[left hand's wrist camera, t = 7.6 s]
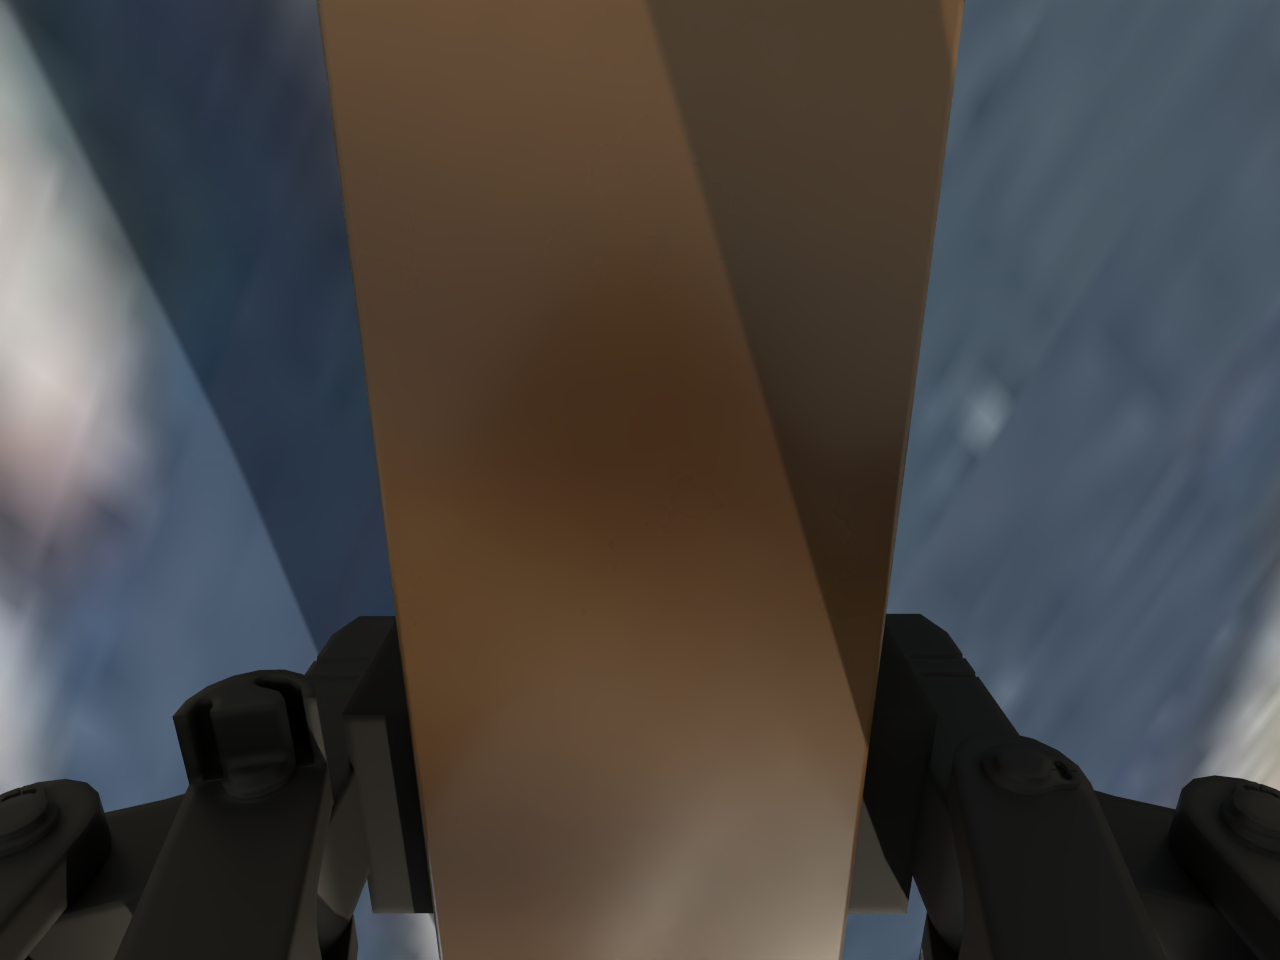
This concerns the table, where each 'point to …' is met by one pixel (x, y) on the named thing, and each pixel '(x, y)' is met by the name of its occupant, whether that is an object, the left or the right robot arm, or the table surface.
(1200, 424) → the table surface
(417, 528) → the bar
